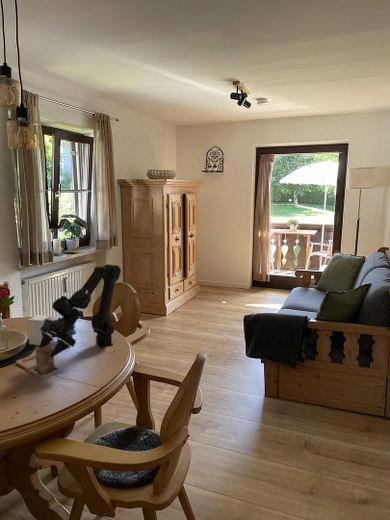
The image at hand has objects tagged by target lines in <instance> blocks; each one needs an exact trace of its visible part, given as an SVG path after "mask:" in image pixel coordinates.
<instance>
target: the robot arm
mask: <svg viewBox="0 0 390 520" xmlns="http://www.w3.org/2000/svg"><path fill="white" fill-rule="evenodd" d="M121 271H122V269H121V268H120V266H119V265H116V264H108V263H107V264H105V265H103V266H95V267H94V268H93V272H92V273H91V275H90V276H89V278H88V279H87V280H86V281H85V283H84V285H82V287H81V288H80V289H78V290H76V291H75V292H74V293H72V296H71V297H69V298H68V297H67V296H65V295H61V297H60V298H57V299H55V301H54V302H53V303H52V309H53V310H54V311H55V312H56V313H58V314H59V315H60V316H61V318H62V319H58V318H57V319H54V320H55V321H54V320H53V319H50V320H49V319H45V322H44V324H43V326H42V327H41V329H40V330H41V333H42V340H41V343H40V345H38V346H39V347H38V348H41V347H44V346H48V345H50V343H52V341H54V338H56V344H55V346H54V348H53V351H52V353H51V355H50V357H54V358H55V356H57V355H58V354H60V353H62V352H64V351H65V350H67V349H70V348H71V347H73V348H74V346H75V345H76V339H74V338H73V337H70V336H69V335H67V334H68V332H69V331H70V330H71V329H72V330H73V329H74V330H75V328H74V327H73V325H75V324H76V322H77V321H78V320H79V318H82V319H83V318H84V311H83V310H85V309H87V308H88V306H89V305H90V302H91V300H92V299H91V298H92V294H93V292H94V290H95V289H96V288H97V287H98V285H99V284H100V282H101V280H103V285H102V291H101V296H100V300H99V307H98V311H97V313H95V314H92V319H91V323H90V324H91V328H92V331H93V333H96V336H95V345H97V346H98V348H100V349H101V348H106V347H110V346H114V343H113V339H112V337H113V336H112V335H113V333H115V326H113V325H112V324H111V323H112V319H111V315H110V308H111V303H112V298H113V293H114V287H115V285H116V282H117V281H118V280H119V279H120V276H121ZM42 331H43V332H42Z"/></svg>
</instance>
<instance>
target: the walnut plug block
mask: <svg viewBox="0 0 390 520" xmlns="http://www.w3.org/2000/svg"><path fill="white" fill-rule="evenodd" d="M53 350H54V348H52V347H51V346H48V345H47V346H44V347H41V348H39V347H38V348H35V350H34V351H35V355H36V358H35V362H36V363H35V365H36V366H37V371H36V372H37V373H39V374H40V375H44V374H47V373H49V372H52V371H55V369H54V365H55V356H54V357H50V355H51V353H52V351H53Z"/></svg>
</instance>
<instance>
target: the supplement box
mask: <svg viewBox="0 0 390 520" xmlns="http://www.w3.org/2000/svg"><path fill="white" fill-rule="evenodd" d="M50 318H51V317H50V315H37V314H36V315H34V316H33V317H31V318H29V319H28V320H27V324H28V325H27V329H28V340H29V341H28V343H29V345H33V344H34V346H35V345H36V346H40V343H41V340H42V333H41V330H40V329H41V327H42V326H43V324H44V322H45V319H49V320H51V319H50ZM42 332H43V331H42Z"/></svg>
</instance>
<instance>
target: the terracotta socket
mask: <svg viewBox="0 0 390 520" xmlns="http://www.w3.org/2000/svg"><path fill="white" fill-rule="evenodd" d="M32 359H36V354H33V355H30V356H26V357H24V358H21V359H18V360H16V364H17V363H18V364H17V365H19V366H20V367H21V368H24V369H25V370H26V371H29V372H30V370H31V369H34V368H36V367H37V366H36V364H34V365H31V366H30V365H29V366H28V365H26V364H25V363H24V362H27V361H30V360H32Z"/></svg>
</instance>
